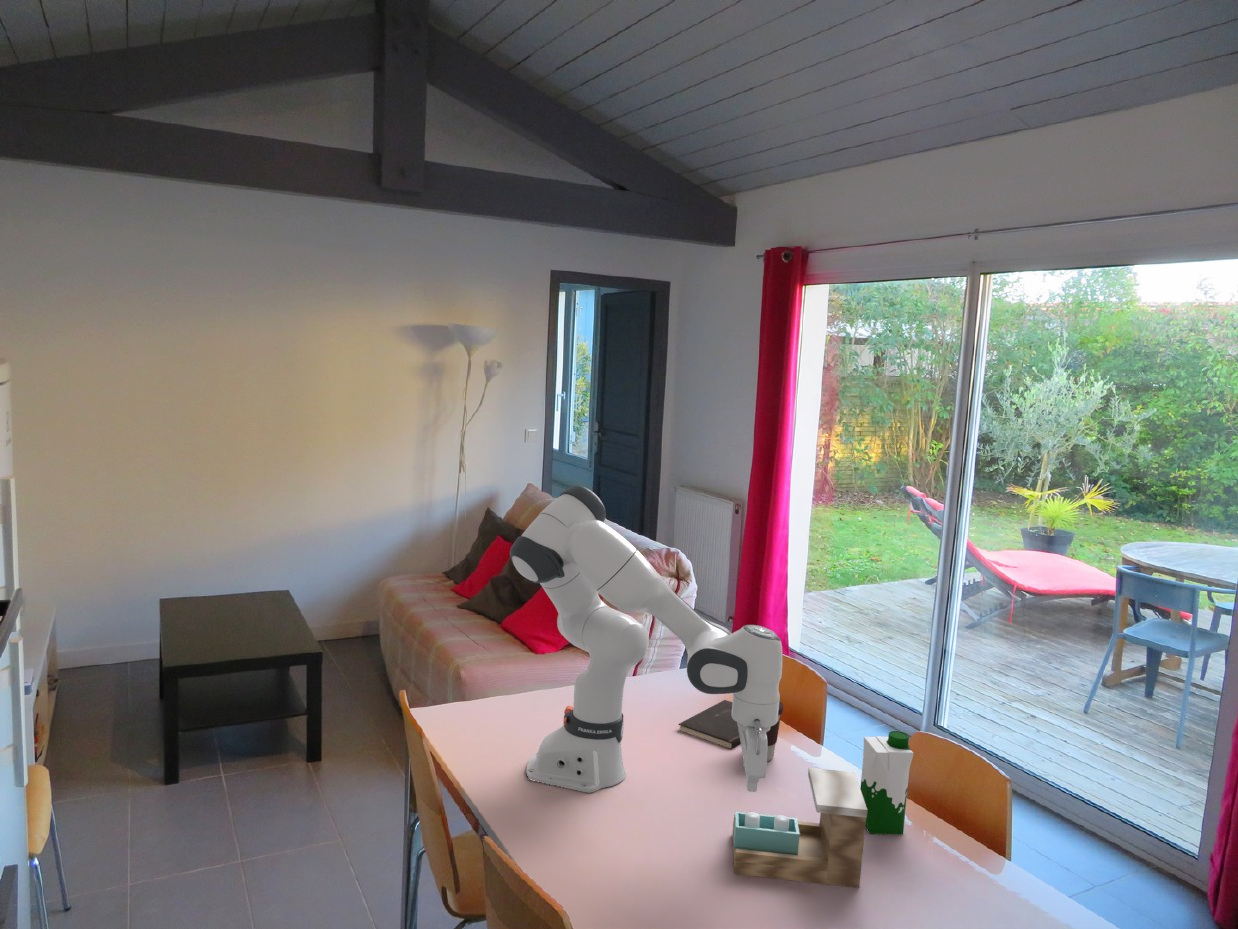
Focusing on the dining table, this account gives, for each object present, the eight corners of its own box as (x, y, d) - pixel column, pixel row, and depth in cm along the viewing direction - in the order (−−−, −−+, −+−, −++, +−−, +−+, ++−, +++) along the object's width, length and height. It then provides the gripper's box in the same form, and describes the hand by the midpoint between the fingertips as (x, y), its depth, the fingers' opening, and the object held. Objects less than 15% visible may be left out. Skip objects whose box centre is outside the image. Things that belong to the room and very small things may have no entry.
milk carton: (909, 837, 184) (918, 744, 182) (866, 836, 183) (875, 743, 181) (892, 815, 193) (901, 726, 190) (851, 814, 192) (860, 725, 190)
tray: (795, 839, 176) (797, 812, 175) (797, 856, 170) (800, 828, 169) (733, 833, 177) (735, 806, 176) (734, 849, 171) (736, 821, 170)
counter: (734, 875, 167) (740, 796, 165) (732, 833, 182) (738, 760, 180) (859, 889, 165) (867, 810, 163) (847, 845, 179) (854, 772, 178)
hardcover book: (677, 732, 230) (678, 723, 230) (724, 707, 249) (724, 699, 248) (731, 751, 221) (732, 742, 221) (775, 724, 239) (776, 716, 239)
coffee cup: (778, 767, 212) (783, 707, 210) (736, 761, 214) (741, 701, 212) (779, 750, 222) (784, 692, 220) (739, 744, 224) (743, 686, 222)
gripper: (777, 734, 161) (771, 806, 163) (766, 692, 182) (760, 756, 183) (742, 731, 162) (736, 803, 164) (735, 689, 182) (730, 754, 184)
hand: (749, 778), depth 174 cm, fingers open, 8 cm apart
